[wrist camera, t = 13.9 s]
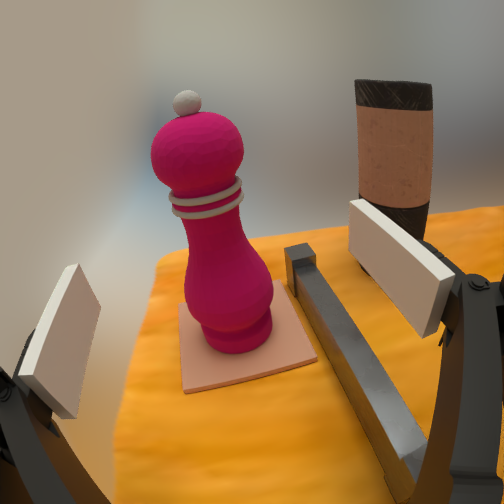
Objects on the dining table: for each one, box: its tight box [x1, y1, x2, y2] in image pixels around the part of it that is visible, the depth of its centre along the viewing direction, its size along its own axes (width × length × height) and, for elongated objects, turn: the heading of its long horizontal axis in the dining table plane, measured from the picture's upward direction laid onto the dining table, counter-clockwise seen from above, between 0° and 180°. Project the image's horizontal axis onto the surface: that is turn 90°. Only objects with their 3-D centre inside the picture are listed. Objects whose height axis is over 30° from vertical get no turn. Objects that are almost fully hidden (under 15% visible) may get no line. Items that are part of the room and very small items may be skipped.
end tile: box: [178, 279, 317, 394], centre depth 27 cm, size 11×11×1 cm
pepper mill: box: [151, 90, 274, 354], centre depth 22 cm, size 7×7×20 cm
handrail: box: [284, 243, 428, 504], centre depth 21 cm, size 24×2×4 cm, turn 12°
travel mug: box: [355, 79, 433, 275], centre depth 27 cm, size 8×8×20 cm
